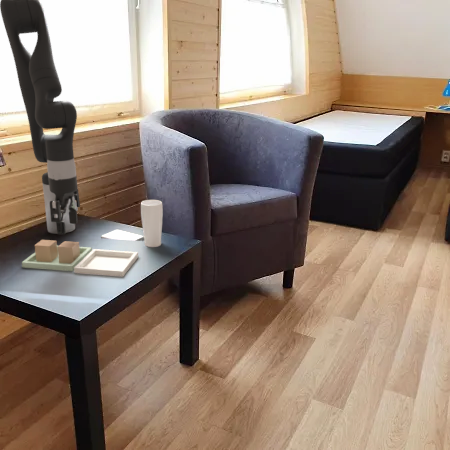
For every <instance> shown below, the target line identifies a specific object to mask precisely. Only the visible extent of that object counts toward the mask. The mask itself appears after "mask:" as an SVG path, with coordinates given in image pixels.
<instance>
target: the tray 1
mask: <svg viewBox="0 0 450 450" xmlns="http://www.w3.org/2000/svg"><path fill="white" fill-rule="evenodd" d="M59 245H60V244H59ZM59 245H58V244H57V251H58V246H59ZM79 248H80V256H79V257H78V258H77V259H76V260H75V261H73V262H72V263H59V256H58V257H56V258H55V259H54V260H53V261H52V262H43V261H36V253H35V252H34V253H32V254H31V255H29V256H28V257H27V258H25V259H24V260H23V261H21V268H26V269H38V270H40V269H42V270H50V271H51V270H53V271H64V272H74V267H75V266H77V265H78V264H79V263H80V262H81V261H82V260H83V259H84V258H85V257H86V256H87V255H88V254H89V253H90V252H91V251H92V250H93V247H89V246H88V247H87V246H79Z"/></svg>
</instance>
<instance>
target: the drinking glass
mask: <svg viewBox="0 0 450 450" xmlns="http://www.w3.org/2000/svg"><path fill="white" fill-rule="evenodd" d="M163 213H164V212H163V202H162V201H161V200H158V199H145V200H142V201H141V203H140V217H141V218H140V219H141V224H142V225H141V226H142V232H143V236H144V239H143V241H144V246H145V247H148V248H157V247H160V246H161V245H162V230H163V218H164V217H163Z"/></svg>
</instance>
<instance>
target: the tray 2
mask: <svg viewBox="0 0 450 450" xmlns="http://www.w3.org/2000/svg"><path fill="white" fill-rule="evenodd" d="M138 258H139V251H130V250H129V251H127V250H125V251H123V250H110V249H98V248H95V249H94V248H92V251H91V252H90V253H89V254H88V255H87V256H86V257H85V258H84V259H83V260H82V261H81V262H80V263H79V264H78V265H77V266H75V267H74V270H73V272H74V274H86V275H99V276H111V277H123V278H124V276H125V275H126V274H127V272H128V271H129V270H130V268H131V267H132V266H133V265H134V263H135V262H136V261H137V259H138Z"/></svg>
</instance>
